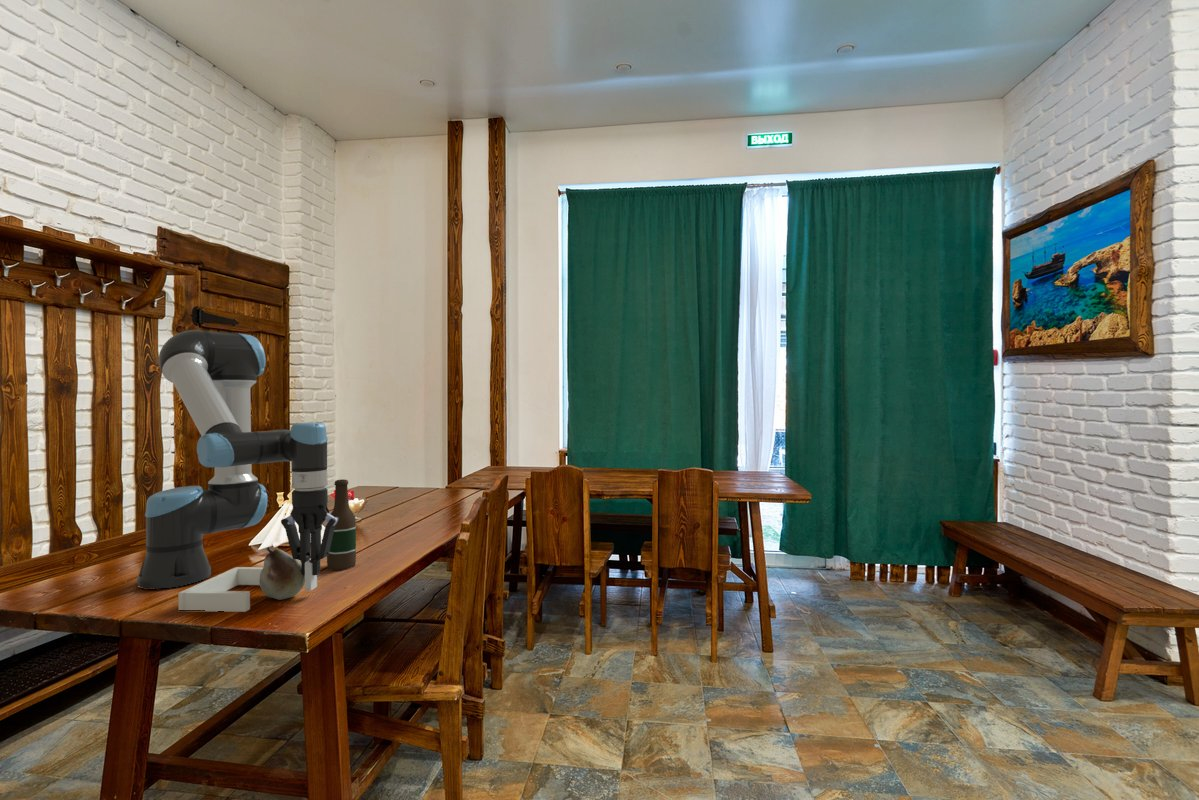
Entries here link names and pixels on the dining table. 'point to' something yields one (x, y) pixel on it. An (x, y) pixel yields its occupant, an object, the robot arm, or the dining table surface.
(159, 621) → the dining table surface
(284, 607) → the dining table surface
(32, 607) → the dining table surface
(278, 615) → the dining table surface
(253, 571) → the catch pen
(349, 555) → the beer bottle
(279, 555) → the fruit
